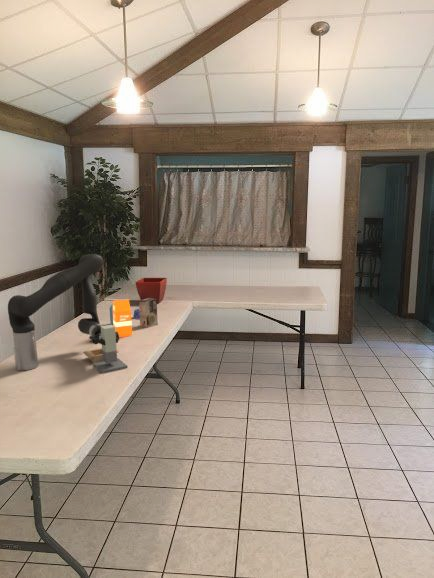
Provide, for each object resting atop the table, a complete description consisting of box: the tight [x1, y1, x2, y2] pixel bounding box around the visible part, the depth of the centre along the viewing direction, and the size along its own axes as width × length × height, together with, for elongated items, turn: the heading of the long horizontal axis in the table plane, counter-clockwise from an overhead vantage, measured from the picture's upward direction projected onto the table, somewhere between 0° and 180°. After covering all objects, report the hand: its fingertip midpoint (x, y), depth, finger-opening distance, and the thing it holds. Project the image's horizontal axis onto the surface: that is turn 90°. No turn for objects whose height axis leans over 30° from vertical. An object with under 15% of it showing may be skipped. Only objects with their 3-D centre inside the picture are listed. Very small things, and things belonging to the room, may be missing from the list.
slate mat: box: [92, 357, 128, 374], centre depth 208 cm, size 12×12×1 cm
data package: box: [109, 304, 114, 326], centre depth 281 cm, size 12×4×12 cm, turn 96°
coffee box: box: [138, 298, 159, 329], centre depth 276 cm, size 9×6×16 cm
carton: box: [82, 347, 120, 364], centre depth 219 cm, size 15×10×4 cm, turn 122°
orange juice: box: [112, 298, 133, 338], centre depth 257 cm, size 8×9×20 cm
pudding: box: [131, 308, 140, 320], centre depth 298 cm, size 12×12×5 cm
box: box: [101, 324, 118, 363], centre depth 207 cm, size 5×5×16 cm
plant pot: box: [135, 277, 168, 304], centre depth 342 cm, size 19×19×17 cm
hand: (110, 342), depth 204 cm, fingers closed on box, 5 cm apart
